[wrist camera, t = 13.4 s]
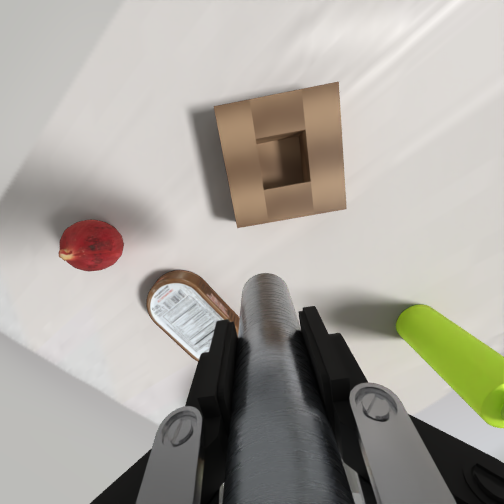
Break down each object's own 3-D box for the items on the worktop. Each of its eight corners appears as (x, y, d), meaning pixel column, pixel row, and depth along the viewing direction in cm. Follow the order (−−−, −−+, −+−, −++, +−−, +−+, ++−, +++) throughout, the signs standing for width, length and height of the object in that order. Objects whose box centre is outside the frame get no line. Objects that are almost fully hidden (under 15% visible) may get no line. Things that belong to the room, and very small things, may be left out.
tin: (182, 257, 31) (141, 293, 33) (174, 266, 28) (129, 305, 30) (255, 332, 34) (214, 360, 36) (255, 348, 31) (209, 377, 33)
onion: (128, 212, 29) (84, 223, 21) (140, 256, 31) (103, 280, 23) (83, 218, 29) (23, 231, 22) (97, 262, 31) (46, 287, 23)
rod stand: (219, 117, 26) (213, 106, 22) (325, 97, 26) (338, 81, 22) (239, 222, 30) (237, 227, 26) (333, 205, 29) (346, 208, 25)
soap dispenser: (431, 345, 35) (653, 543, 16) (389, 334, 34) (566, 525, 15) (451, 312, 33) (724, 486, 14) (407, 299, 33) (630, 463, 14)
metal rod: (237, 277, 15) (80, 1326, 1) (285, 269, 14) (679, 1398, 1) (246, 318, 16) (207, 1179, 2) (291, 311, 15) (545, 1206, 2)
